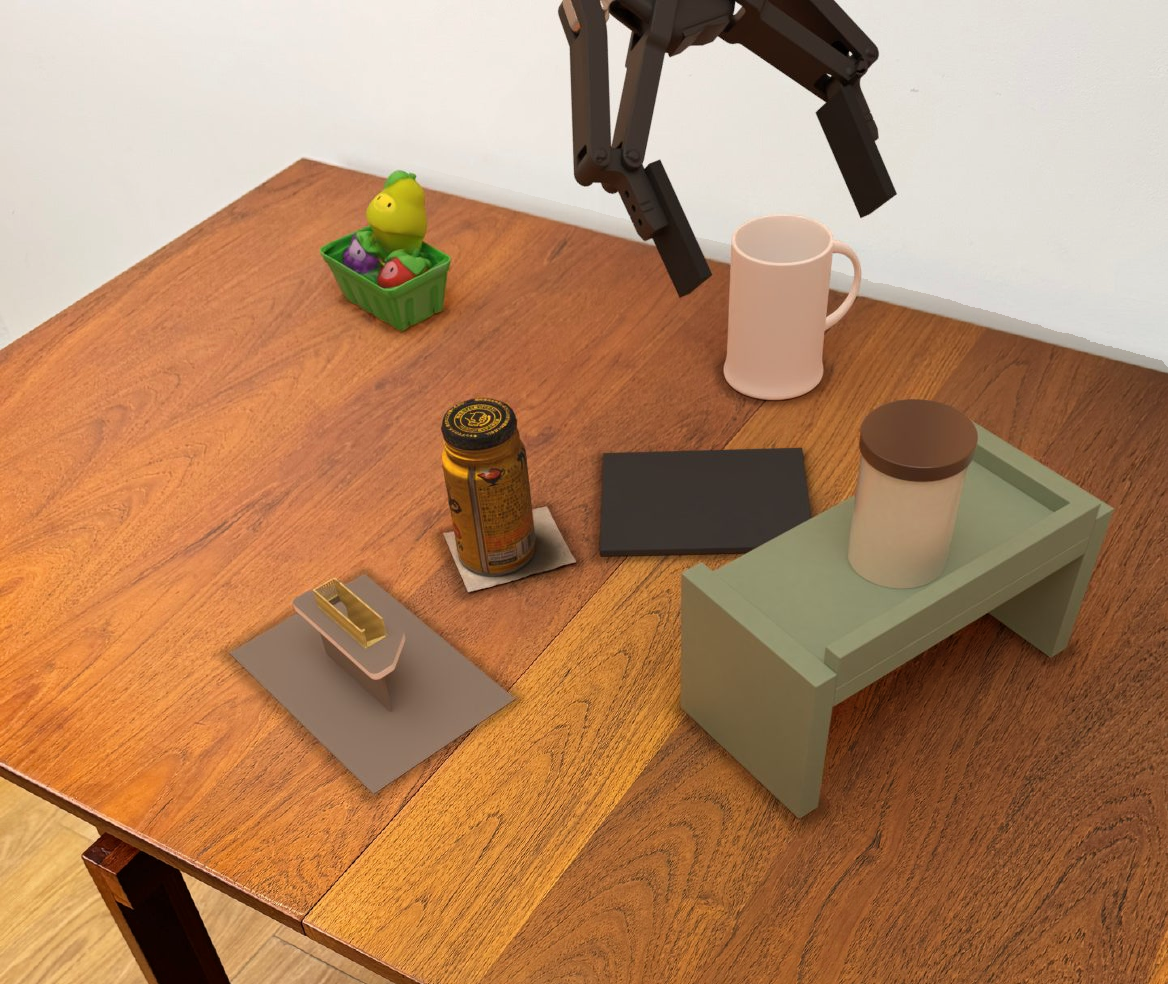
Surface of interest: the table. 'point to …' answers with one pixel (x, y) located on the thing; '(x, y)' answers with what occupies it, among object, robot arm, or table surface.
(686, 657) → the stand
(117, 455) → the table surface
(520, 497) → the condiment
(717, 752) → the table surface
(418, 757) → the platform
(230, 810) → the table surface
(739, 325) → the mug
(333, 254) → the fruit basket
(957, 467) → the spice jar
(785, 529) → the mat
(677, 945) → the table surface
